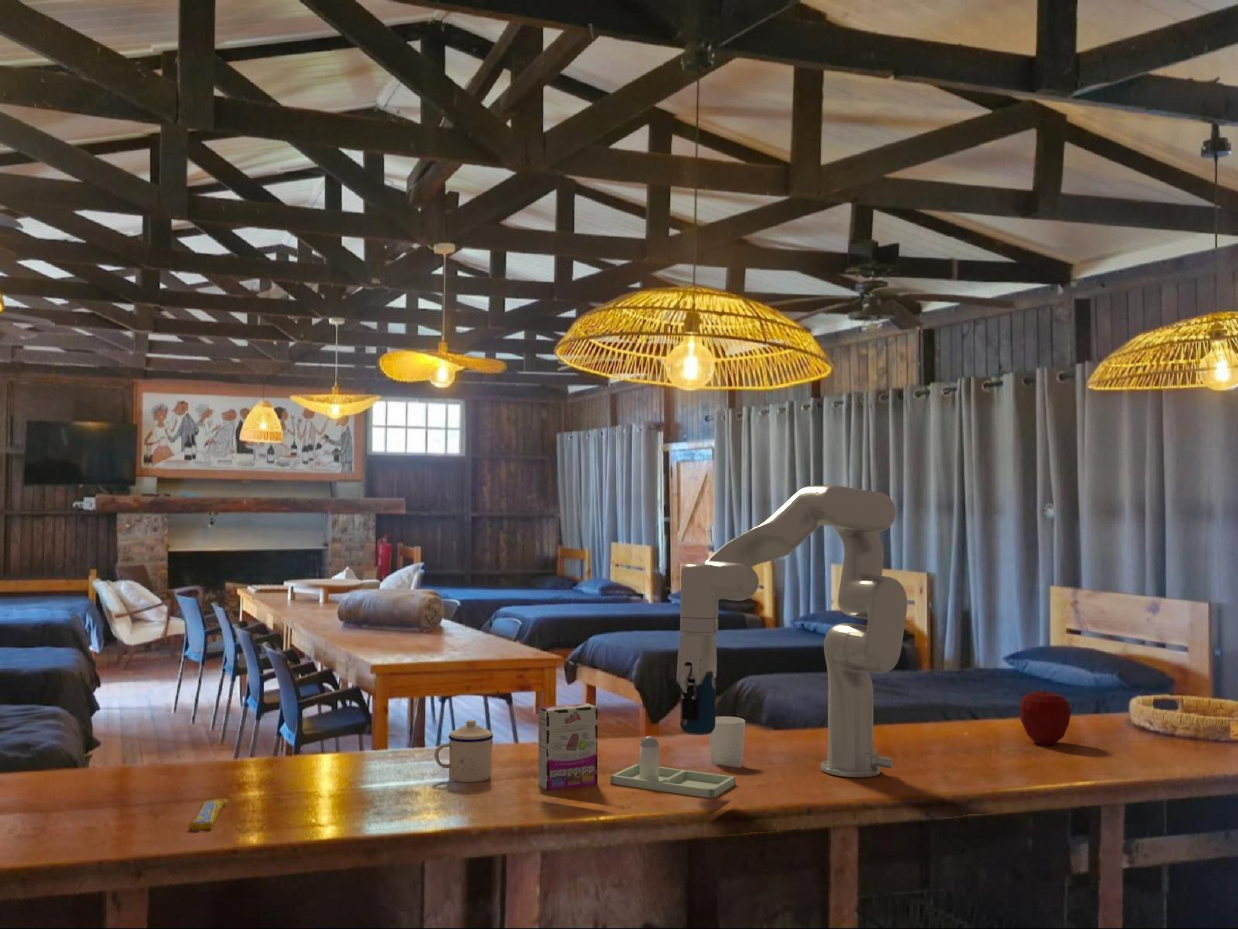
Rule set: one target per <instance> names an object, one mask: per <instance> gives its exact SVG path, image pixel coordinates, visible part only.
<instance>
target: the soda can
mask: <svg viewBox="0 0 1238 929" xmlns="http://www.w3.org/2000/svg"><path fill="white" fill-rule="evenodd" d="M688 682H690V683H695V680H693V679H689V681H688ZM716 682H717V680H716V678H714V676H713V672H711V673H706V676H705V678H704V680H703V682H702V684H701V685H699V686H698V693H697V698H696V699H698V720H687V719H683V718H682V697H681V696H682V692H681V691H680V703H679V704H680V706H679V708H680V711H679V712H680V713H679V714H680V715H679V716H680V717H679V719H680V720H679V726H680V728H681V730H682V732H683V734H686V735H691V736H708V735H709V734H711V733H712V731H713V730H714V728H715V717H716V702H717V701H716V698H717V696H716V695H717V694H716V693H717V692H716V688H717V686H716V685H717V683H716ZM693 688H694V687H691V689H692V691H693Z"/></svg>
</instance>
